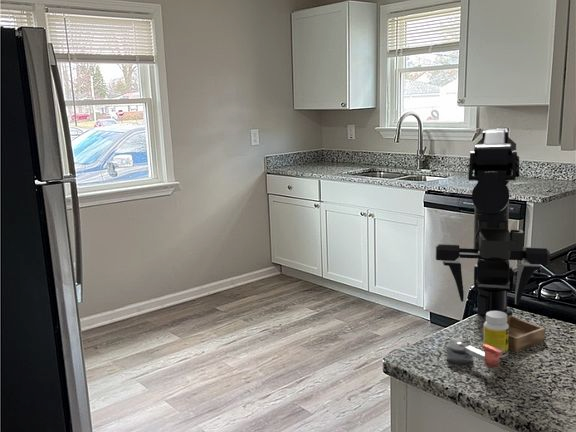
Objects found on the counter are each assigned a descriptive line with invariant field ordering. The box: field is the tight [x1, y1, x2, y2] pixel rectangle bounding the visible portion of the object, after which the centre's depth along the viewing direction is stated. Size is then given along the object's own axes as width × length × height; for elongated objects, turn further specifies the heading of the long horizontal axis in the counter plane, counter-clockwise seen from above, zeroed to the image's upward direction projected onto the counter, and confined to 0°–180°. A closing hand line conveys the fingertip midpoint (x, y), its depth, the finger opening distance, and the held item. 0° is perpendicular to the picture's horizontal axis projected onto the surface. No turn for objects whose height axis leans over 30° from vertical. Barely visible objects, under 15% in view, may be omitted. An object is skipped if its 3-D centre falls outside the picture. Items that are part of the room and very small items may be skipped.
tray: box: [482, 315, 546, 353], centre depth 119 cm, size 9×9×3 cm
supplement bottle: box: [482, 311, 509, 359], centre depth 113 cm, size 5×5×8 cm
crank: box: [449, 337, 503, 368], centre depth 108 cm, size 12×4×3 cm, turn 29°
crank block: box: [446, 346, 474, 366], centre depth 112 cm, size 5×5×2 cm
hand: (489, 302), depth 100 cm, fingers open, 9 cm apart
